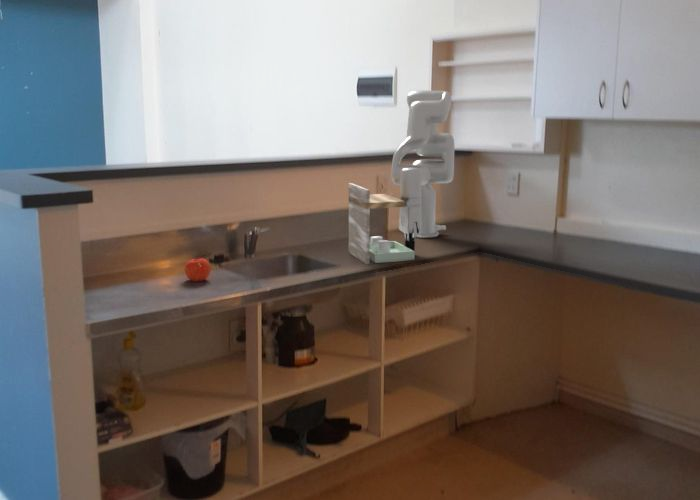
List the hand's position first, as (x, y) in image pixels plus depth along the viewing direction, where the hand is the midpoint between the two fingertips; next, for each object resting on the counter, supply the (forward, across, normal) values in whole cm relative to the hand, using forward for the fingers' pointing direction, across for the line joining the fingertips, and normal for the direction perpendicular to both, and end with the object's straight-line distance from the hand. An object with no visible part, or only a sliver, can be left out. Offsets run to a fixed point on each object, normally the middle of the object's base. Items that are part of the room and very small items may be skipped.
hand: (409, 250), depth 263 cm
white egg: (0, +4, -12) cm, 12 cm away
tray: (+1, 0, -10) cm, 10 cm away
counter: (+1, 0, -14) cm, 14 cm away
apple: (+2, +14, -78) cm, 80 cm away
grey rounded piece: (0, -4, -12) cm, 12 cm away
